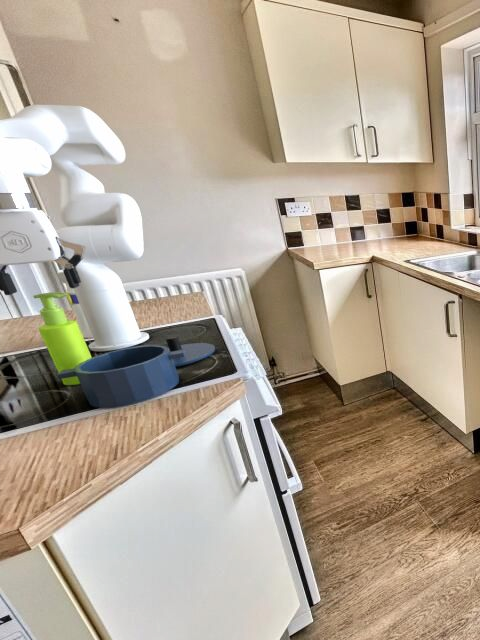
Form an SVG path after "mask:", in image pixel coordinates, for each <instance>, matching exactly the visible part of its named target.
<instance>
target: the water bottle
mask: <svg viewBox="0 0 480 640" xmlns="http://www.w3.org/2000/svg"><path fill="white" fill-rule="evenodd" d="M49 263H50V264H51V263H52V261H50V262H49ZM63 270H64V269H59V270H57V271H56V273H57V274H56V275H57V278H58V279H59V281H60V282H61V283H62V284H65V286H66V291H65V294H68V295H67V296H66V298H67V300H68V302H69V304H70V305H71V308H72V311H73V315H74V317H75V318H76V321H77V324H78V326H79V328H80V331H81V333H82V335H83V338H84V339H94V338H93V335H92V333H91V330H90V328H89V326H88V323H87V321H86V318H85V316H84V313H83V311H82V309H81V306H80V304H79V301H78V299H77V297H76V294H75V292H74V289H73V288H70V287H69V284H68V282H67V279H66V277H65V275H64V272H63Z"/></svg>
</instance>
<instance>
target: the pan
mask: <svg viewBox="0 0 480 640" xmlns="http://www.w3.org/2000/svg"><path fill="white" fill-rule="evenodd" d="M185 355H186V351H185V350H179V351H173V352H170V350H169V347H168V346H166V345H159V344H147V345H136V346H131V347H127V348H122V349H117V350H111V351H107V352H105V353H102V354H99V355H95V356H93V357H92V358H90V359H88V360H86V361H84V362H82V363H80V364H78V365H77V366H76V367H75V368H73V369H67V370H62V371H61V372H60V373H58V374H57V377H58V379H59V380H62V379H63V378H69V377H75V376H77V377H78V379H79V381H80V384H79V385H80V386H81V388H82V390H83V392H84V395H85V398H86V399H87V401H88V403H89V405H90V406H92V407H94V408H98V409H99V408H100V409H101V408H102V409H109V408H118V407H124V406H130V405H134V404H138V403H141V402H144V401H149V400H151V399H154V398H156V397H158V396H161V395H163V394H165V393H167V392H169V391H171V390H172V389H174V388H175V387H176V386H177V385H179V382H180V376H179V373H178V371H177V367H175V365H174V362H173V359H176V358H182V357H185Z"/></svg>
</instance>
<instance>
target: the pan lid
mask: <svg viewBox="0 0 480 640" xmlns="http://www.w3.org/2000/svg"><path fill="white" fill-rule="evenodd" d="M165 341H166V345H167V348H169V350H170V352H173V351H179V350H185V351H186V355H185V357H182V358H176V359H173V362H174V365H175V367H176V368H178V367H181V366H185V365H189V364H192V363H195V362H198V361H200V360H203V359H206V358H208V357H209V356H211V355H212V354H213V353H215V351H216V347H215V345H214V344H212V343H209V342H208V343H207V342H193V343H186V344H181V342H180V339H179V336H178V335H171V336H167V337H165Z"/></svg>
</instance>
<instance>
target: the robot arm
mask: <svg viewBox="0 0 480 640" xmlns="http://www.w3.org/2000/svg"><path fill="white" fill-rule="evenodd" d="M125 160H126V150H125V147H124V145H123V143H122V141H121V140H120V139H119V137H118V136H117V135H116V133H115V132H114V131H113V130H112V129H111V128H110V127H109V126H108V125H107V123H106V122H105V121H104V120H103V119H102V118H101V117H100V116H99V115H97V113H95V112H94V111H93V110H91V109H90V108H87V107H85V106H81V105H63V104H31V105H27V106H25V107H23V108H22V109H20V110H19V111H18V112H17V113H15V114H13V115H12V116H11V117H9V118H2V119H0V291H1V292H3V294H4V296H12V295H13V294H16V293H17V292H18V290H17V287H16V285H15V283H14V281H13V279H12V276H11V274H10V273H8V272H6V270H7V268H8V267H9V266H14V265H26V264H38V263H50V261H51V262H54V263H56V264H58V265H60V266H61V267H62V268H63V269H62V270H63V272H64V275H65V277H66V279H67V282H68V284H69V287H70V288H73V289H74V292H75V294H76V297H77V299H78V301H79V304H80V306H81V309H82V311H83V313H84V316H85V318H86V321H87V323H88V326H89V328H90V330H91V333H92V335H93V338H92V339H93V340H94V341H92V342H91V343H89V344H88V350H89V351H92V352H112V351H116V350H120V349H124V348H130V347H135V346H138V345H139V344H143V343H145V342H146V341H148V340H149V339H150V335H149V333H147V332H145V331H141V330H140V328H139V325H138V322H137V320H136V317H135V314H134V311H133V308H132V306H131V304H130V301H129V297H128V295H127V293H126V290H125V287H124V284H123V281H122V279H121V278H120V276H119V275H118V274H117V273H116V272H115V271H114V270H112V269H111V268H110V267H108V266H106V265H105V264H110V263H121V262H131V261H136V260H139V259H141V258H142V257H143V255H144V251H145V249H144V245H145V244H144V229H143V227H144V226H143V217H142V213H141V210H140V206H139V205H138V203H137V202H136V200H135V199H134V198H133V197H131V196H130V195H129V194H126V193H124V192H123V193H122V192H105V187H104V184H103V183H102V182H101V181H100V180H99V179H98V178H97V177H95V175H92V174H91V173H90V172H88V171H86V170H85V169H83V168H80V167H79V166H117V165H121V164H123V163H124V162H125ZM50 172H51V173H52V174H53V176H54V177H55V178H56V180H57V181H58V183H59V206H58V207H59V215H60V220H61V221H62V223H63V224H64V225H65V226H64V227H60V228H57V229H55V227H54V225H53V224H52V221H50V219H49V217H48V216H47V214H46V213H45V212H44V211H43V210H42V209H39V208H38V206H37V204H36V202H35V199H34V196H33V195H32V193H31V190H30V188H29V185H28V183H27V181H26V178H39V177H43V176H46V175H47V174H48V173H50ZM38 209H39V210H38Z"/></svg>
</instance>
